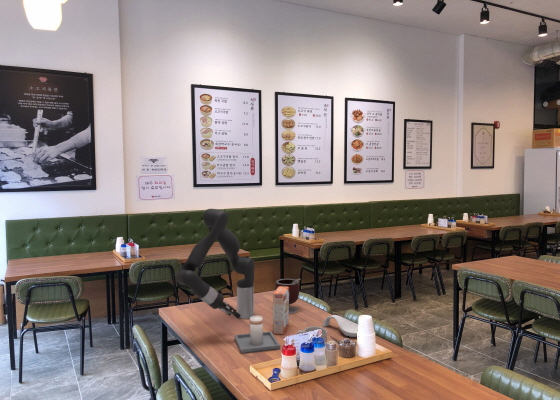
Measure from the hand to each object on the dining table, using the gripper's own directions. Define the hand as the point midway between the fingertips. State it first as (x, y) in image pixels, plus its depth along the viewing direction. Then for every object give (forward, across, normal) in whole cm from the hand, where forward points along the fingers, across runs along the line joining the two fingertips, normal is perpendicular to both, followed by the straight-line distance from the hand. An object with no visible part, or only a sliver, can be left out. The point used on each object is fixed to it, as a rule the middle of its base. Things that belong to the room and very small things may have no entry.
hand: (235, 315), depth 217 cm
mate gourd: (+39, +19, -23) cm, 49 cm away
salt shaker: (+10, -13, +6) cm, 17 cm away
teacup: (+26, -30, -6) cm, 40 cm away
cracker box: (+25, -4, -8) cm, 27 cm away
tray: (+11, -13, +6) cm, 18 cm away
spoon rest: (+44, -24, -22) cm, 55 cm away
